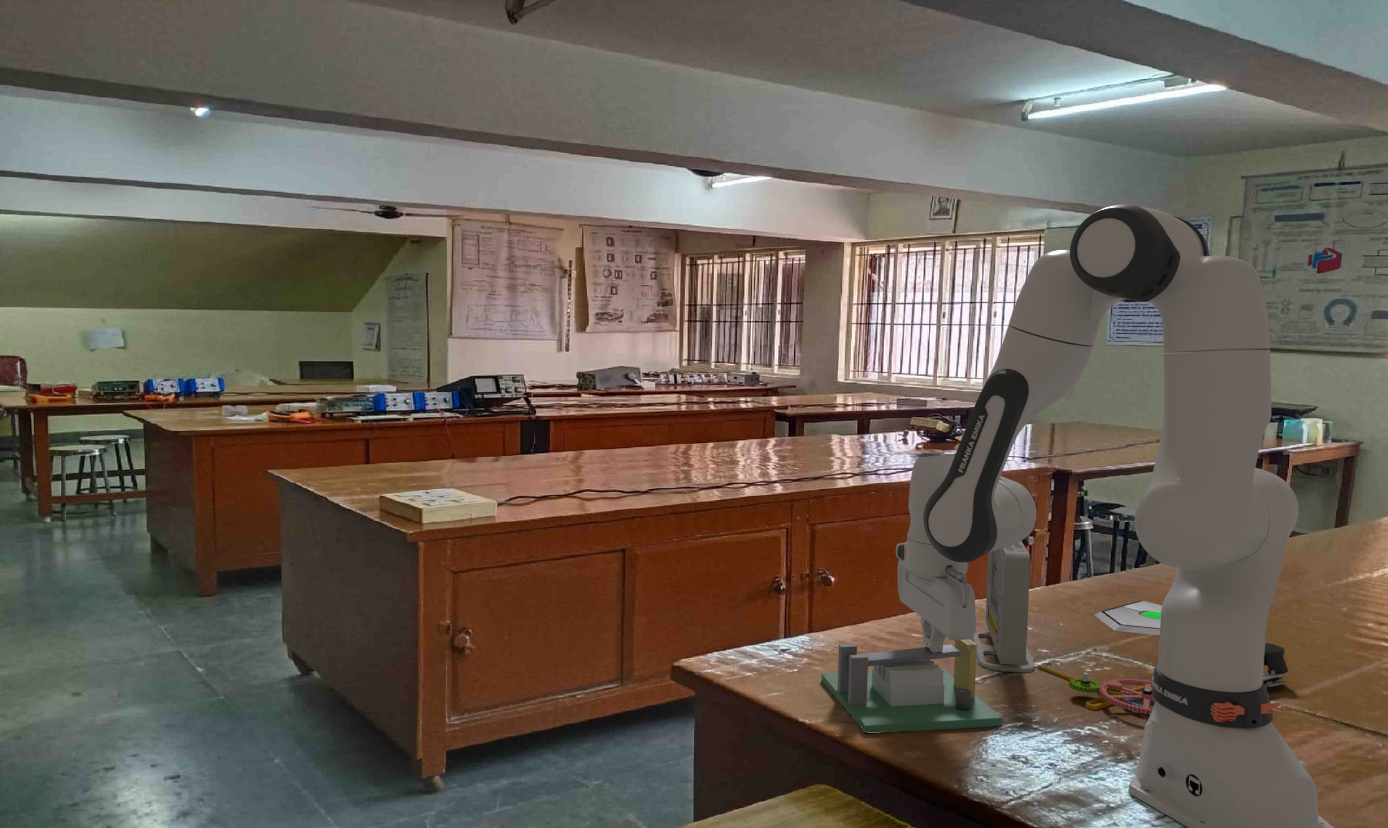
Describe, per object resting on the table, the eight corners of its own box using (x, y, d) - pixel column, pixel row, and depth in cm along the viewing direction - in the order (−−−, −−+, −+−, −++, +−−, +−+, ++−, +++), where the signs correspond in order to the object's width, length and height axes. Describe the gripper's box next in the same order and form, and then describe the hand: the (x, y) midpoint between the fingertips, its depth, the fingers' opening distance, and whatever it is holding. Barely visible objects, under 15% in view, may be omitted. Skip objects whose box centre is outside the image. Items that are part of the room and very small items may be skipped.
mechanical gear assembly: (1186, 749, 128) (1248, 730, 136) (1189, 718, 128) (1250, 701, 136) (1006, 678, 154) (1067, 665, 162) (1008, 652, 153) (1069, 641, 161)
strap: (960, 656, 141) (960, 650, 141) (853, 668, 139) (853, 662, 139) (951, 649, 145) (951, 643, 145) (846, 661, 142) (845, 654, 142)
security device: (1069, 623, 185) (1070, 613, 185) (1134, 605, 197) (1134, 595, 197) (1154, 648, 171) (1155, 637, 171) (1218, 627, 183) (1219, 617, 183)
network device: (1040, 680, 152) (1045, 556, 150) (982, 676, 154) (987, 553, 152) (1019, 631, 177) (1023, 524, 175) (969, 628, 179) (974, 521, 177)
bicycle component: (1251, 693, 142) (1304, 679, 150) (1237, 644, 144) (1289, 633, 152) (1178, 699, 152) (1231, 685, 160) (1165, 653, 154) (1218, 641, 162)
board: (1002, 725, 134) (1004, 661, 133) (865, 733, 131) (867, 668, 130) (941, 674, 154) (943, 618, 153) (821, 680, 151) (822, 623, 150)
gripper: (990, 576, 132) (985, 674, 133) (929, 542, 152) (926, 627, 153) (946, 577, 131) (941, 676, 132) (891, 542, 151) (888, 628, 152)
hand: (932, 649), depth 143 cm, fingers closed, pressing on strap
